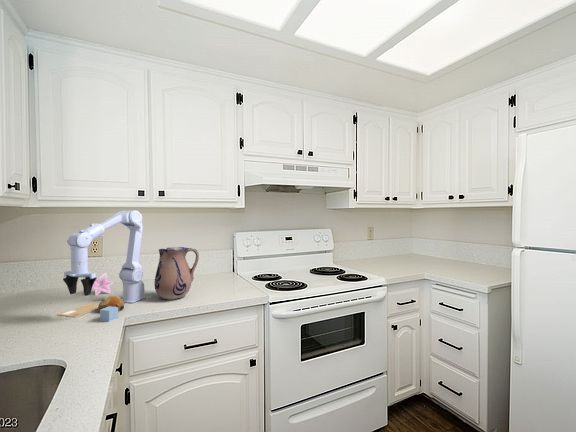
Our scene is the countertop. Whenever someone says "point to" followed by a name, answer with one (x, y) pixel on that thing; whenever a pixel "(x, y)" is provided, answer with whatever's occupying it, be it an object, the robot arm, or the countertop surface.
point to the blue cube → (108, 314)
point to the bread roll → (111, 303)
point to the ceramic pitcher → (174, 272)
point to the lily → (102, 284)
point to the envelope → (80, 310)
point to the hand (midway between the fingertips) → (80, 294)
